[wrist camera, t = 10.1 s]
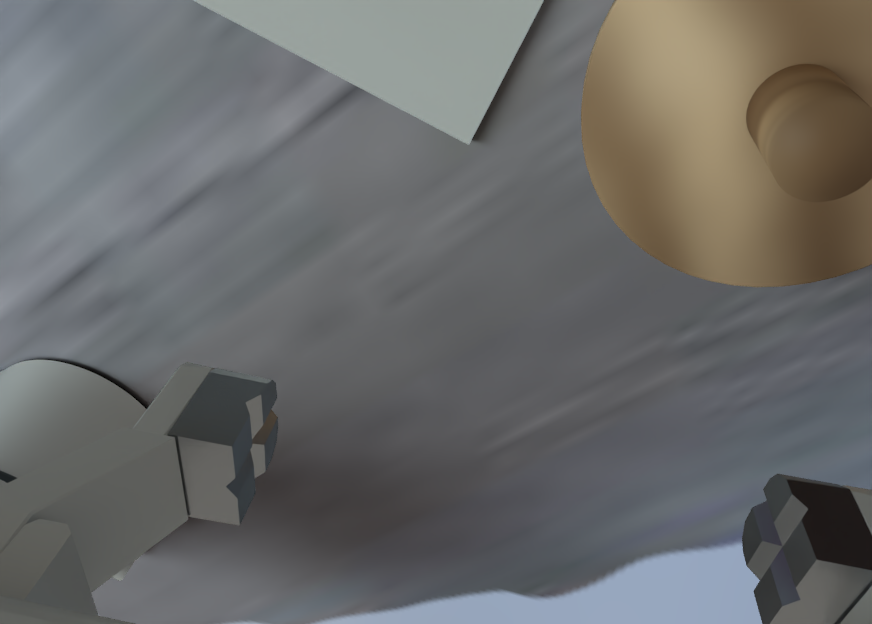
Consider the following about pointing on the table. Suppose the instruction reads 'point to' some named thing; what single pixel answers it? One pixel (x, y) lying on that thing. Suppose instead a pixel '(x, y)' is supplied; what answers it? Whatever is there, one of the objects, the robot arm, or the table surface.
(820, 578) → the robot arm
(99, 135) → the table surface
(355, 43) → the trivet
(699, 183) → the lid
